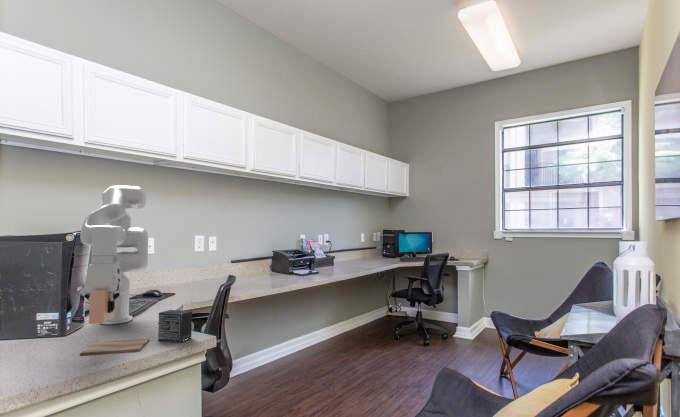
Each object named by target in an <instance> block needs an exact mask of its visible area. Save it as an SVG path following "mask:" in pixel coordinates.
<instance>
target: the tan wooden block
mask: <svg viewBox="0 0 680 417" xmlns="http://www.w3.org/2000/svg"><path fill="white" fill-rule="evenodd" d="M89 294H90V302H89V313H88V315H89V317H88V324H89V325H90V324H94V325H95V324H101V323H105V322H106V321H108V320H110V319H111V318H113V317H114V310H113V311H112V312H111V313H108V302H109V293H108V289H104V290H92V291H90V293H89Z"/></svg>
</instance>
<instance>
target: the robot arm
mask: <svg viewBox="0 0 680 417" xmlns="http://www.w3.org/2000/svg"><path fill="white" fill-rule="evenodd" d="M101 199H102V204H101V207H100V208H97V209H96V210H94V211H92V212H91V213H90V214H88V215H87V216H86V217H85V219H84V220H83V223H82V226H81V228H80V229H81V230H80V235H79V237H80V241H81V243H82V244H83V245H84V246H90V247H91V259H90V260H91V263H90V264H89V265H88V268H87V272H86V278H85V285H84V286H83V287H82V288H81V290H80V291H79V292H78V293H79V294H80V295H81V296H82V297H84V298H85V299H86V300H87V301H88V302H89V303H90V291H92V290H104V289H108V293H109V302H108V313H111V312H112V311H113V310H114V317H113V318H111V319H110V320H108V321H106V322H105V323H100V324H102V325H117V324H119V325H120V324H125V323H128V322H130V321H132V320H133V315H130V313H129V312H130V283H131V282H130V279H129V277H128V276H127V275H126V274H125V273H131V272H133V273H134V272H143V271H146V269H147V267H148V263H149V262H148V260H149V233H148V231H147V229H145V228H143V227H131V224H132V220H131V219H132V217H131V215H130V214H129V213H128V211H127V209H143V208H145V206H146V204H147V196H146V193H145V191H144V189H143V188H142V187H140V186H137V185H136V186H135V185H133V186H131V185H112V186H109V187H108V188H107V189H106V190H105V191H103V192H102V195H101ZM107 224H108V225H107ZM117 249H135V250H125V251H124V250H122V251H118V250H117Z"/></svg>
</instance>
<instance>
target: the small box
mask: <svg viewBox="0 0 680 417" xmlns="http://www.w3.org/2000/svg"><path fill="white" fill-rule="evenodd" d="M192 320H193V311H192V310H177V309H168V310H164V311H161V312H158V336H157V341H160V342H169V341H176V342H175V343H179V342H181V341H183V340H185V339H187V338H190V337H191V338H192V328H193V327H192ZM191 338H190V339H191ZM185 341H186V340H185ZM183 342H184V341H183ZM181 343H182V342H181Z"/></svg>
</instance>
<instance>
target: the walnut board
mask: <svg viewBox="0 0 680 417" xmlns="http://www.w3.org/2000/svg"><path fill="white" fill-rule="evenodd" d="M149 342H150V338H141V339H140V338H139V339H123V340H108V341H95V342H93V343H92V344H91V345H89V346H88V347H86V348H85V349H83V350H82V351H80V353H79V356H89V355H90V356H91V355H103V354H104V355H105V354H119V353H133V352H134V353H135V352H141V350H142V349H143V348H144V347H145V346H147V345H148V343H149Z"/></svg>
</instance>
